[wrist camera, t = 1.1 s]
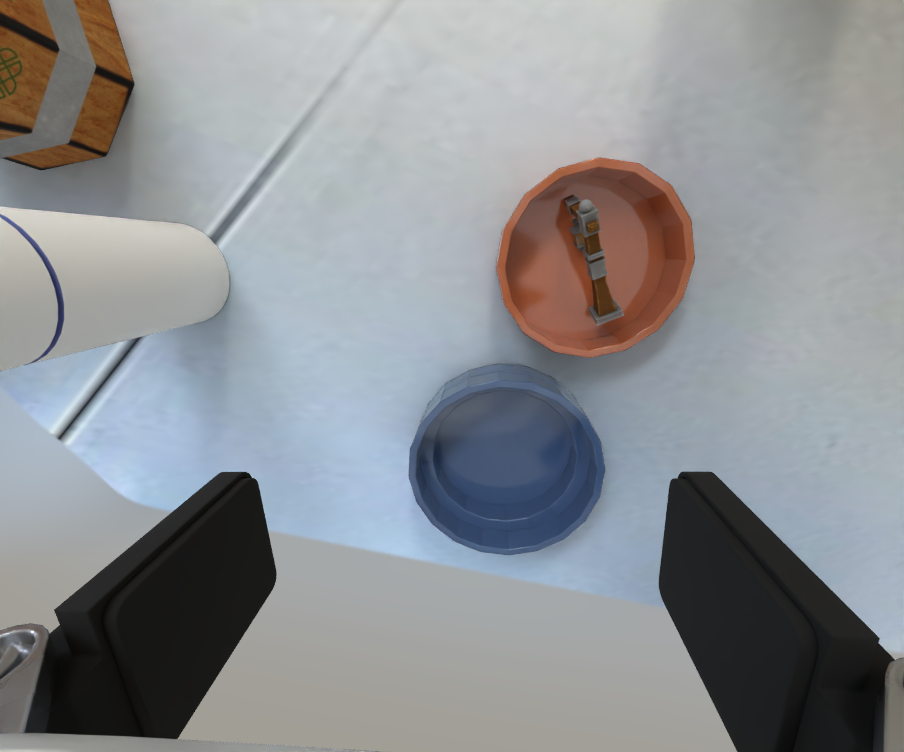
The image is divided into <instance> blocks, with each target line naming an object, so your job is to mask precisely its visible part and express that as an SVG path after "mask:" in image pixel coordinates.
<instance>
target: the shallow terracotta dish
mask: <svg viewBox="0 0 904 752" xmlns="http://www.w3.org/2000/svg"><path fill="white" fill-rule="evenodd" d="M570 195H574V196H575V197H578V198H579V199H580V200H581V202H582V201H583V200H585V199H587V200H590V201H591V202H592V204H593V205H594V206H595V207H596V208H597V209H598V217H599V224H600V228H601V231H600V232H598V233H599V239H600V246H601V248H602V249H603V250H604V254H605V255H603V256H604V257H605V258H606V259H605V265H606V271H607V273H608V275H605V276H606V281H607V285H608V288H609V291H610V293H611V296H612V298H613V299H614V300H615V301H616V302H617V304H618V305H619V306H620V307H621V309H622V310H623V314H624V316H621V317H619V318H616V319H613V320H611V321H608V322H605V323H602V324H600V325H597V324H596V323H595V321H594V320H593V318H592V316H591V315H590V313H589V312H588V311H589V308H588V307H590V306H593V290H592V281H591V278H590V276H589V275H588V274H587V272H588V270H587V265H586V261H585V259H584V258H586V257H585V256H584V255H583V254H584V252H581V251H579V249H577V247H576V246H575V245H574V244H573V242H574V237H573V234H572V233H571V231H570V230H569V228H571V227H573V226H574V223H573V222H572V220H573V219H575V217H573V216H572V215H571V214H570V213H569V212H568V209H567V207H565V203H564V199H563V198H566V197H568V196H570ZM694 259H695V255H694V243H693V232H692V221H691V218H690V217H689V215H688V213H687V211H686V210H685V208H684V206H683V204H682V203H681V201H680V199H679V197H678V196H677V194H676V192H675V190H674V189H673V187H672V186H671V185H670V184H669V183H667V182H666V181H664V180H663V179H661V178H660V177H659V176H657V175H656V174H654V173H653V172H651V171H650V170H648V169H647V168H645V167H644V166H642V165H641V164H639V163H634V162H627V161H620V160H614V159H607V158H594V159H591V160H587V161H584V162H580V163H576V164H573V165H569V166H566V167H562V168H559V169H557V170H556V171H554V172H553V173H552V174H551V175H549V176H548V177H547V178H545V179H544V180H543V181H541V182H540V183H539V184H538V185H536V186H535V187H534V188H532V189H531V190H530V191H529V192H527V193H526V194H525V195H524V196H523V198H522V200H521V201H520V203H519V204H518V206H517V208H516V209H515V211H514V213H513V214H512V216H511V218H510V219H509V221H508V223H507V224H506V226H505V228H504V229H503V231H502V234H501V239H500V245H499V251H498V256H497V262H496V271H497V276H498V280H499V285H500V290H501V294H502V299H503V302H504V305H505V307H506V308H507V309H508V311H509V312H510V314H511V315H512V317H513V318H514V319H515V321H516V322H517V324H518V325H519V327H520V328H521V330H522V331H523V332H524V333H525V334H526V335H527V336H529V337H531V338H532V339H534V340H535V341H537V342H539V343H540V344H542V345H543V346H545V347H547V348H548V349H550V350H551V351H553V352H557V353H563V354H569V355H575V356H581V357H587V358H591V357H596V356H601V355H605V354H610V353H615V352H620V351H624V350H627V349H628V348H630V347H631V346H633V345H635V344H636V343H638V342H639V341H641V340H643V339H644V338H646V337H647V336H649V335H651V334H652V333H654V332H655V331H657V330H658V329H659V328H660V327H661V326H662V324H663V323H664V322H665V320H666V319H667V318H668V317H669V315H670V314H671V313H672V312H673V310H674V309H675V308H676V306H677V305H678V304H679V303H680V301H681V300H682V298H683V296H684V293H685V290H686V287H687V284H688V280H689V277H690V274H691V271H692V268H693V264H694V261H695V260H694Z"/></svg>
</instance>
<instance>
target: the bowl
mask: <svg viewBox="0 0 904 752" xmlns="http://www.w3.org/2000/svg"><path fill="white" fill-rule="evenodd" d="M604 474H605V464H604V458H603V452H602V446H601V442H600V439H599V438H598V436H597V434H596V432H595V431H594V429H593V427H592V425H591V424H590V422H589V420H588V418H587V417H586V415H585V413H584V412H583V410H582V408H581V407H580V405H579V403H578V402H577V400H576V398H575V397H574V396H573V394H572V393H570V392H569V391H568V390H567V389H566V388H565V387H564V386H562V385H561V384H560V383H559V382H558V381H557V380H555V379H554V378H552V377H551V376H549V375H546V374H544V373H542V372H539V371H537V370H534V369H532V368H530V367H526V366H519V365H508V364H494V365H490V366H485V367H480V368H476V369H471V370H469V371H467V372H465V373H463V374H462V375H460V376H458V377H456V378H455V379H453V380H451V381H449V382H448V383H447V384H445V385H444V386H443V387H442V389H441V390H440V391H439V392H438V393H437V394H436V395H435V396H434V398H433V399H432V400H431V401H430V402H429V404H428V406H427V408H426V411H425V413H424V415H423V418H422V420H421V423H420V425H419V428H418V430H417V433H416V435H415V438H414V440H413V443H412V445H411V448H410V457H409V479H410V483H411V486H412V489H413V492H414V496H415V499H416V502H417V504H418V505H419V506H420V508H421V509H422V511H423V512H424V513H425V515H426V516H427V518H428V519H429V520H430V522H431V523H432V524H433V525H434V526H435V527H436V528H438V529H439V530H440V531H442V532H443V533H444V534H445V535H447V536H448V537H449V538H451V539H452V540H453V541H455V542H457V543H460V544H462V545H465V546H467V547H470V548H472V549H475V550H477V551H481V552H486V553H495V554H503V555H514V554H521V553H527V552H534V551H539V550H541V549H543V548H546V547H548V546H550V545H552V544H555V543H557V542H559V541H561V540H563V539H565V538H566V537H567V536H568V535H570V534H571V533H572V532H573V531H574V530H575V529H577V528H578V527H579V526H580V525H581V524H582V523H584V522H585V521H586V519H587V517H588V516H589V514H590V513H591V511H592V509H593V508H594V506H595V504H596V503H597V501H598V499H599V497H600V494H601V489H602V484H603V479H604Z"/></svg>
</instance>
